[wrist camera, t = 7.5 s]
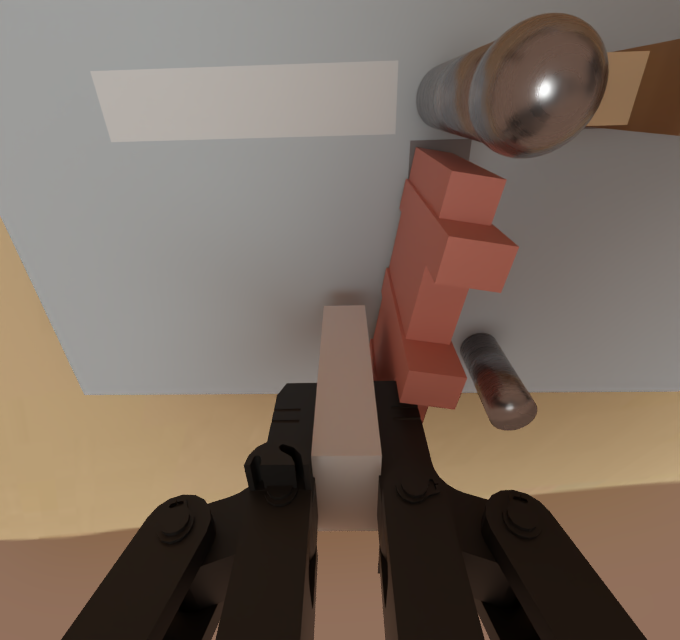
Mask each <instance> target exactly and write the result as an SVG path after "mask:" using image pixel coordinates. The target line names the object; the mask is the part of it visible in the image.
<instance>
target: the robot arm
mask: <svg viewBox="0 0 680 640" xmlns="http://www.w3.org/2000/svg"><path fill="white" fill-rule="evenodd" d="M244 468H245V473H246V477H247V481H248V486H249V487H248V488H246V489H245V490H243V491H242V492H240V493H238V494H236V495H233V496H231V497H228V498H225V499H222V500H219V501H215V502H212V503H209V504H207V503H206V501H205V500H204V499H202V498H200V497H198V496H196V495H181V496H177V497H174V498H171V499H169V500H167V501H166V502H164V503H163V504H161V505H159V506H158V507H157V508H156V509H155V510H154V511H153V512H152V513H151V514H150V515H149V517H148V518H147V519H146V521H145V522H144V523H143V525H142V526H141V528H140V529H139V530H138V532H137V533H136V535H135V536H134V537H133V539H132V540H131V542H130V543H129V545H128V546H127V547H126V549H125V550H124V552H123V553H122V555H121V556H120V557H119V559H118V560H117V562H116V563H115V564H114V566H113V567H112V569H111V570H110V571H109V573H108V574H107V576H106V577H105V578H104V580H103V581H102V583H101V584H100V586H99V587H98V589H97V590H96V591H95V593H94V594H93V595H92V597H91V598H90V600H89V601H88V603H87V604H86V605H85V607H84V608H83V610H82V611H81V613H80V614H79V615H78V617H77V618H76V620H75V621H74V622H73V624H72V625H71V627H70V628H69V629H68V631H67V632H66V634H65V635H64V636H63V638H62V639H61V640H211V639H212V637H213V634H214V632H215V630H216V628H217V625H218V623H219V627H218V631H217V636H216V640H314V621H315V601H316V580H317V562H318V555H317V529H318V531H378V532H379V544H380V546H379V563H378V573H380V577H381V589H382V601H383V614H384V627H385V640H484V636H483V632H482V628H481V624H480V620H479V617H478V615H479V616H480V619H481V621H482V623H483V625H484V627H485V629H486V631H487V634H488V636H489V638H490V640H647V639H646V637H645V636H644V635H643V633H642V632H641V631H640V630H639V628H638V627H637V626H636V624H635V623H634V622H633V621H632V619H631V618H630V616H629V615H628V614H627V612H626V611H625V610H624V608H623V607H622V606H621V605H620V603H619V602H618V601H617V599H616V598H615V597H614V595H613V594H612V593H611V591H610V590H609V589H608V587H607V586H606V585H605V584H604V582H603V581H602V580H601V578H600V577H599V576H598V574H597V573H596V572H595V570H594V569H593V568H592V567H591V565H590V564H589V562H588V561H587V560H586V559H585V557H584V556H583V555H582V553H581V552H580V551H579V549H578V548H577V547H576V545H575V544H574V543H573V541H572V540H571V539H570V537H569V536H568V535H567V534H566V532H565V531H564V530H563V528H562V527H561V526H560V524H559V523H558V522H557V520H556V519H555V518H554V517H553V515H552V514H551V513H550V511H548V510H547V509H546V507H545V506H544V505H543V504H542V503H541V502H540V501H538V500H536V499H535V498H533V497H531V496H530V495H528V494H526V493H522V492H518V491H515V490H504V491H499V492H497V493H495V494H493V495H492V496H491V497H490V499H489V500H487V499H483V498H480V497H477V496H473V495H470V494H466V493H463V492H461V491H458V490H456V489H454V488H452V487H451V486H449V485H448V484H446V483H445V482H444V481H443V480H442V479H441V478H440V477H439V476H438V474H437V473H436V471H435V470H434V467H433V465H432V461H431V457H430V453H429V449H428V445H427V441H426V437H425V433H424V429H423V425H422V421H421V417H420V413H419V409H418V405H416V404H408V403H400V401H399V395H398V389H397V383H396V381H373V373H372V364H371V355H370V346H369V337H368V328H367V320H366V311H365V305H349V306H324V309H323V321H322V332H321V344H320V356H319V368H318V380H317V383H286V385H285V386H284V387H283V389H282V390H281V391H280V392H279V394H278V395H277V399H276V403H275V408H274V413H273V417H272V423H271V427H270V431H269V436H268V441H267V442H266V443H264V444H262V445H260V446H258V447H257V448H256V449H255V450H254V451H253V452H252V453H251V454H250V455H249V456H248V458H247V460H246V462H245V464H244ZM477 612H478V613H477ZM219 621H220V622H219Z"/></svg>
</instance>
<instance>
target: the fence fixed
mask: <svg viewBox="0 0 680 640" xmlns="http://www.w3.org/2000/svg"><path fill="white" fill-rule="evenodd" d="M607 55H608V62H609V74H608V82H607V87H606V90H605V93H604V97H603V99H602V101H601V104H600V106H599V108H598V109H597V111H596V113H595V115H594V116H593V117H592V119H591V120H590V122H589V123H588V124H587V125H586V126H585V127H595V128H605V129H615V130H625V131H635V132H645V133H655V134H665V135H675V136H680V39H676V40H671V41H666V42H661V43H656V44H650V45H645V46H640V47H635V48H630V49H625V50H620V51H615V52H607Z"/></svg>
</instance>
